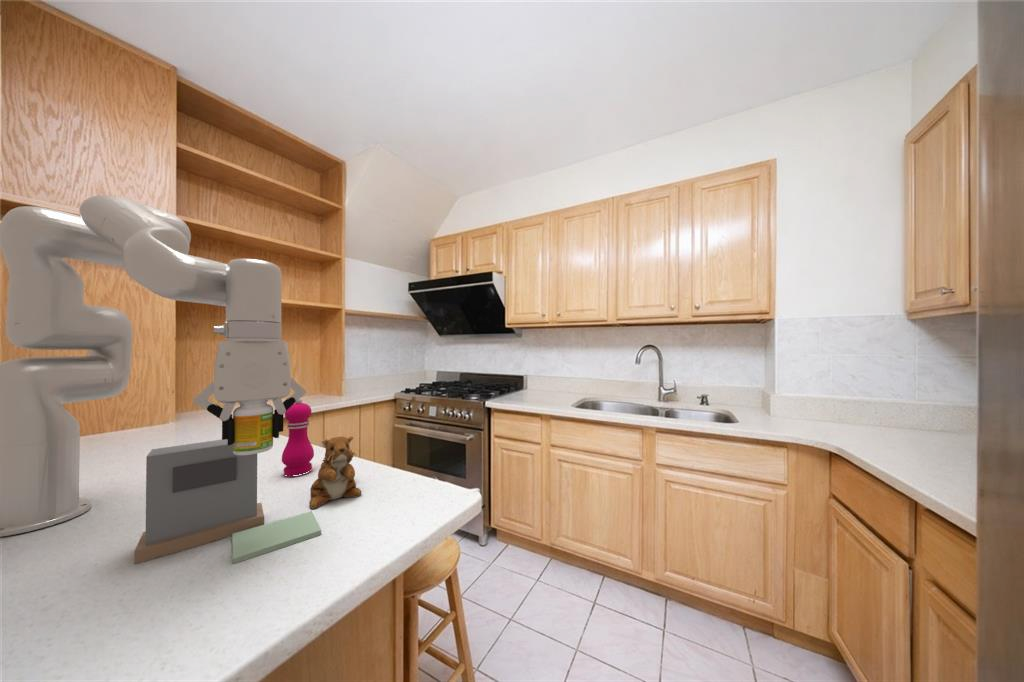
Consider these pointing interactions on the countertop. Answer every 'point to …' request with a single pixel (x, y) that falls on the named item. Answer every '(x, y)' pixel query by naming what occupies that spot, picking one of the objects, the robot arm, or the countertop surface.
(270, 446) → the supplement bottle
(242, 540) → the pad
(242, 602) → the countertop surface
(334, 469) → the stuffed squirrel
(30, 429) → the robot arm
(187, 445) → the panel
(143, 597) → the countertop surface
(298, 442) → the pepper mill
